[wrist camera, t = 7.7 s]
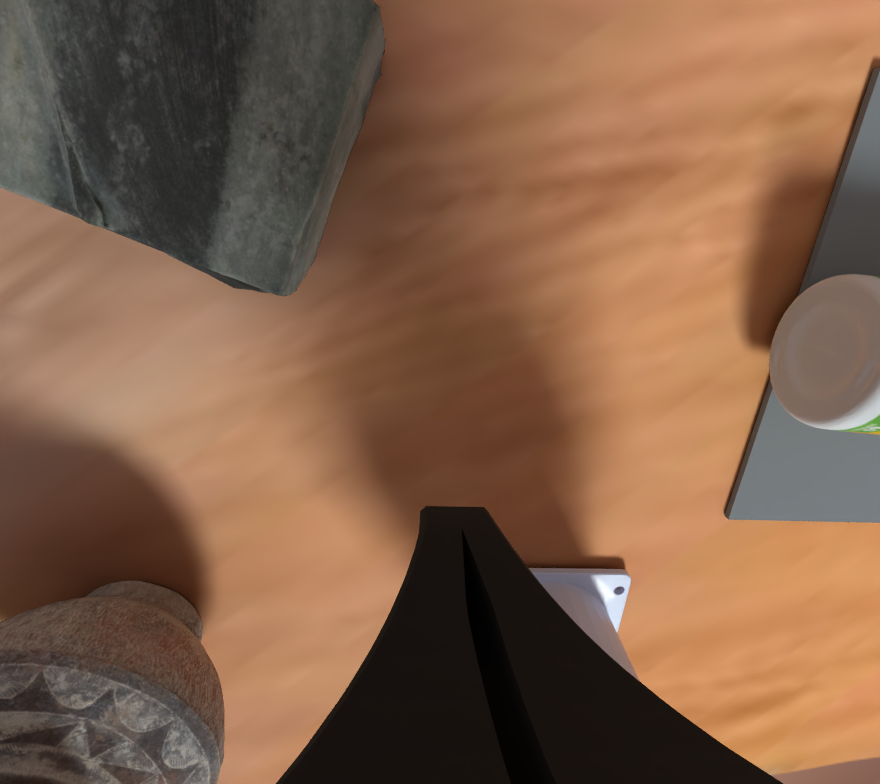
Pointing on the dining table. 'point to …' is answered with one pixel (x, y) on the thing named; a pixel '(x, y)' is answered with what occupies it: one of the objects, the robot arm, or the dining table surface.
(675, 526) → the dining table surface
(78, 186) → the stone block
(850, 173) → the mat
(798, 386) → the supplement bottle
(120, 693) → the pottery
